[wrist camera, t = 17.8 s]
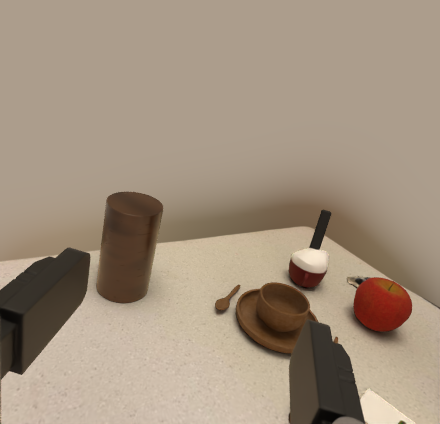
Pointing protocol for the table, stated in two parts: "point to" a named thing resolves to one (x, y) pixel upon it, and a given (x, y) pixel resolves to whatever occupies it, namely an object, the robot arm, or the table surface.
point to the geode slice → (356, 280)
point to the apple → (382, 304)
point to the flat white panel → (381, 410)
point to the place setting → (272, 315)
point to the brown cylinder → (128, 246)
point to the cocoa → (311, 257)
